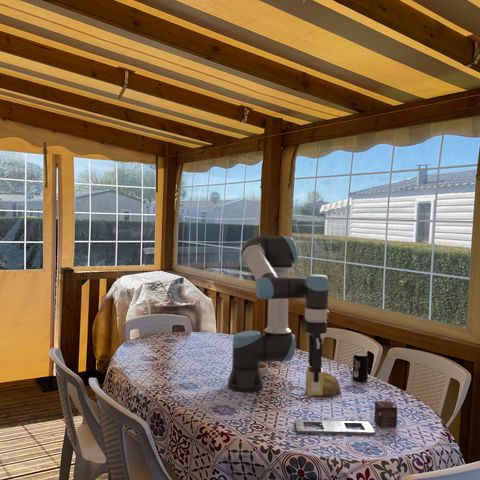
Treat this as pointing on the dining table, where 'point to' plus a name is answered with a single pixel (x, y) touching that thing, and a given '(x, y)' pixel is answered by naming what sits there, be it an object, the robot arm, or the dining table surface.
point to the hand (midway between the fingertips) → (314, 387)
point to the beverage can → (360, 367)
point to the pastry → (330, 386)
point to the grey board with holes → (335, 427)
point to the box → (385, 414)
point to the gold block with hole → (308, 382)
